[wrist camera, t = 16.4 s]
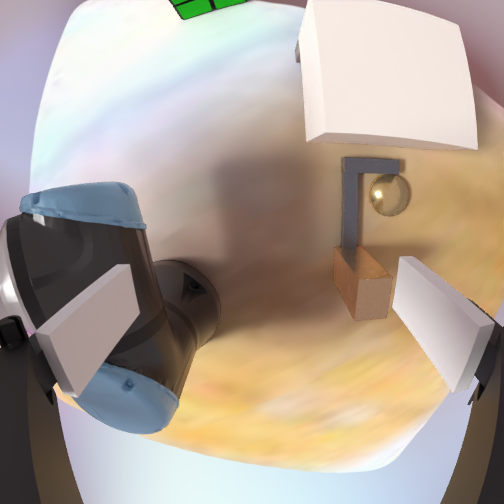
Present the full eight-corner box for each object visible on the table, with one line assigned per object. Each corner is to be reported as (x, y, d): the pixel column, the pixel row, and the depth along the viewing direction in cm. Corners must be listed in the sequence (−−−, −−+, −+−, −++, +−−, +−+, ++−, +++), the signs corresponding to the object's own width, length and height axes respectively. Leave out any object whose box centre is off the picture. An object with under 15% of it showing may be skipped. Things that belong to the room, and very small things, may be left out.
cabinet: (408, 150, 35) (477, 149, 20) (301, 144, 36) (325, 132, 21) (400, 61, 31) (458, 25, 15) (295, 50, 32) (310, -9, 16)
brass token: (406, 212, 38) (409, 214, 37) (370, 217, 39) (372, 218, 37) (403, 172, 36) (406, 172, 35) (366, 175, 37) (369, 175, 36)
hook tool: (387, 276, 41) (422, 313, 29) (333, 279, 41) (354, 321, 30) (393, 159, 36) (438, 162, 24) (334, 157, 36) (362, 155, 25)
